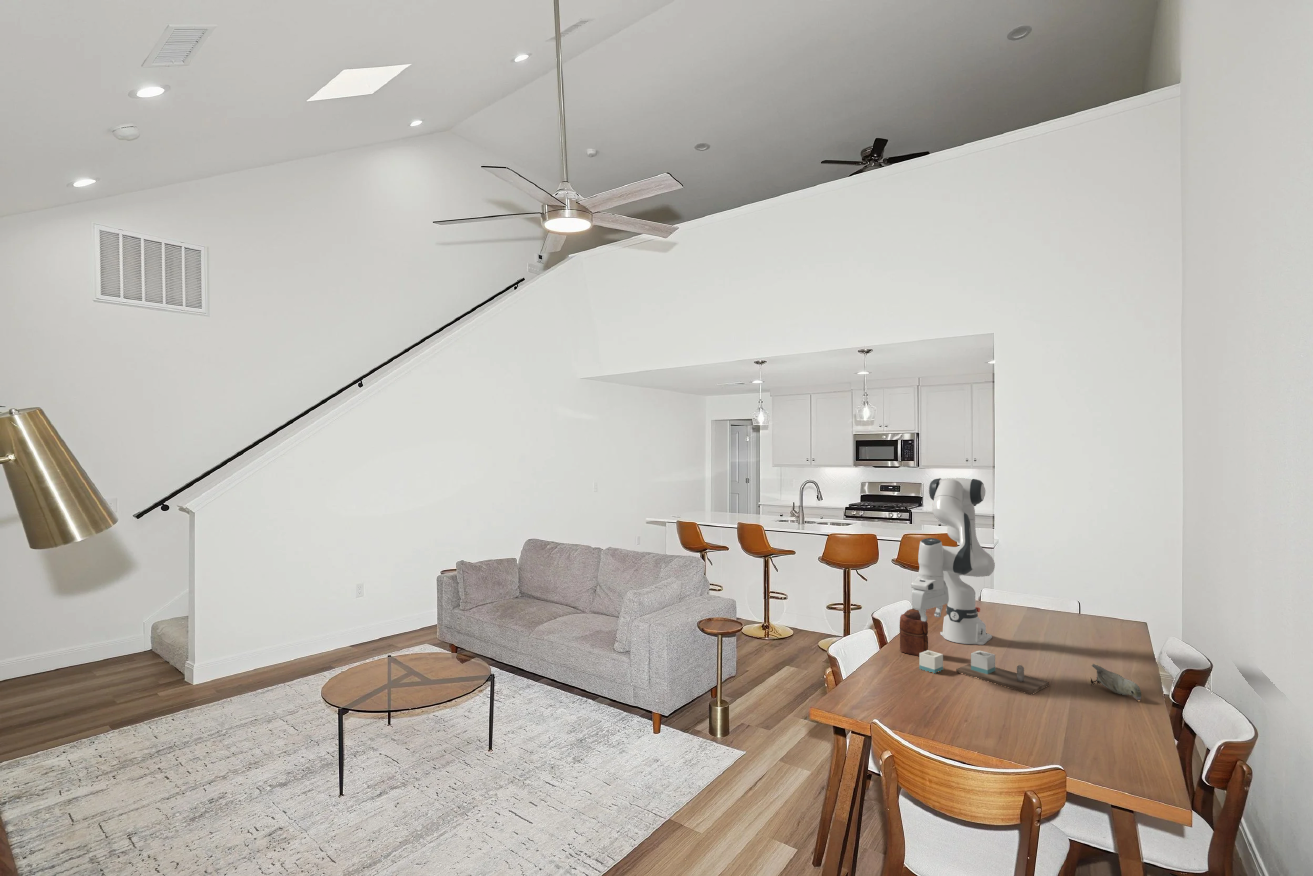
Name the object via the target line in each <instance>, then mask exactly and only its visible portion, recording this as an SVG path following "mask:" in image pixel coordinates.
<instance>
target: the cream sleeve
mask: <svg viewBox="0 0 1313 876" xmlns="http://www.w3.org/2000/svg"><path fill="white" fill-rule="evenodd" d="M918 657H919V658H918V659H919V667H918V668H919V670H921V669H922V670H921V671H924V670H925V672H927V671H929V672H928V673H930V672H933V673H932V674H934V673H935V674H937V673H936V672H938V671H940V672H942V671H941V670H943V671H944V654H943V653H940V652H936V651H933V650H929V649H928V650H927V651H924V652H921V653H919V656H918ZM938 673H939V672H938Z"/></svg>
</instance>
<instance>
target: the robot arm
mask: <svg viewBox="0 0 1313 876" xmlns="http://www.w3.org/2000/svg"><path fill="white" fill-rule="evenodd" d="M928 495H929V497H930V499H931V500H932V501H933V502H932V507H931V509H932V510H931V511H932V514H933V516H934V518H936V519H937V520H938V521H939V522H940V523H942V524H943V525H945V526H946V527H947V529H946V531H947V533H946V534H947V536H948V537H949V538H950V539H951V540H953V541H954V542H957V543H958V544H959V545H958V546H947V545H943V542H942V540H941V539H939V538H933V537H931V538H930V537H929V538H923V539H921V540H920V541H919V547H918V555H917V557H918V559H917V562H918V566H919V569H918V572H917V576H916V578H915V579H914V580H913V581H911V584H910V588H911V589H912V590H911V607H912V609H915V610H919V613H920V615H921V621H927V622H928V615H927V613H926V612H927V610H929V609H933V608H936V609H935V611H934V614H933V616H934V617H935V618H941V616H942V614H941V613H942V611H943V608H944V607H943V606H945V605H946V608H945V611H946V615H944V616H943V624H942V631H940V632H939V634H940V635H941V636H942V638H944V639H945V640H947V641H948V642H949V641H950V642H953V643H957V644H965V645H979V646H981V645H982V646H983V645H985V644H986V643H988V642H989V641H990V640H991V639H992V638H993V635H992V634H990V633H988V632H987V628H986V627H987V625H986V623H985V622H984V621H983V620H982V619H981V618H980V617H979V615H978V613H980V612H981V607H978V606H976V590H975V589H974V587H972V586H971V585H970V584H968V583H966V582H965V581H963V580H962V579H961V578H960V577H961V576H964V577H974V578H980V577H981V578H982V577H990V576H991V575H992V574H993V573H994V571H995V568H996V562H995V560H994V558H993V556H991V554H990V553H988V552H987V551H986V550H985V549H984V548H983V547H982V546H981V544H980V543H979V541H978V538H977V532H976V531H977V530H976V509H975V507H977V505H979V504H981V503H982V502H983V501H984V498H985V496H986V487H985V484H984V483H983V482H982V481H981V480H980V479H976V478H972V479H971V478H964V477H950V478H948V477H947V478H941V477H939V478H934V479H933V480H931V481H930V483H929V486H928Z"/></svg>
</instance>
